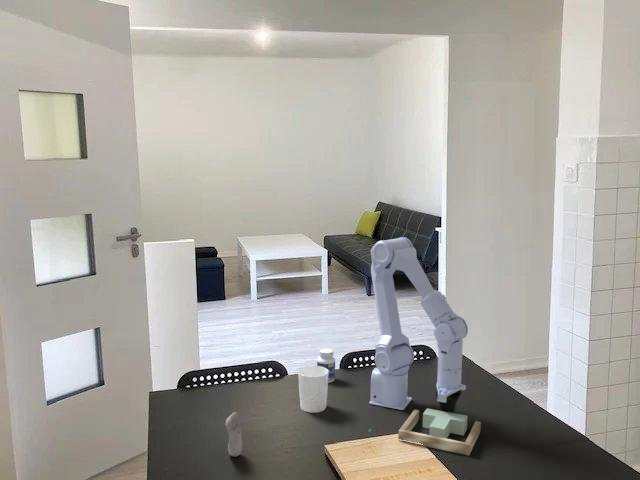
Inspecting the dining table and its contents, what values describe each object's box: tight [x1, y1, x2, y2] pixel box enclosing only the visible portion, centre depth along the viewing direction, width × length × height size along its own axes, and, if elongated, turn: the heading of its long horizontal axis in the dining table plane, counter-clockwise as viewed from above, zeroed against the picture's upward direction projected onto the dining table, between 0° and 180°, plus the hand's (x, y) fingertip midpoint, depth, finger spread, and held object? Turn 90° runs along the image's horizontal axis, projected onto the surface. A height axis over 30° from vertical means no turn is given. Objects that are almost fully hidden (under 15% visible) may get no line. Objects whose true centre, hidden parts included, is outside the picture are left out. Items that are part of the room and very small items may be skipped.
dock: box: [397, 409, 482, 456], centre depth 145 cm, size 16×13×2 cm
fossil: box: [225, 411, 243, 458], centre depth 136 cm, size 6×4×10 cm, turn 5°
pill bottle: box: [316, 348, 336, 384], centre depth 180 cm, size 5×5×9 cm
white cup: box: [297, 365, 329, 414], centre depth 160 cm, size 8×8×10 cm
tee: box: [422, 408, 468, 439], centre depth 147 cm, size 10×10×4 cm
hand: (447, 419), depth 152 cm, fingers closed
